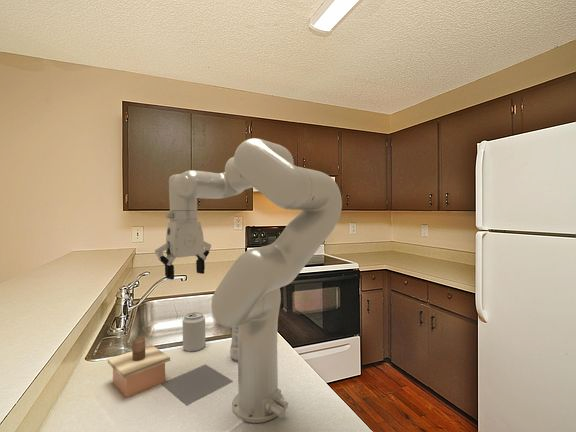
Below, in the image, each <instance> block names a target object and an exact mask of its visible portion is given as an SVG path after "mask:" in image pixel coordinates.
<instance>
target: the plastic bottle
mask: <svg viewBox="0 0 576 432" xmlns="http://www.w3.org/2000/svg"><path fill="white" fill-rule="evenodd" d="M238 331H239V326H238V327H233V328H231V343H230V347H229V349H230V350H229V353H230V358H231V359H232V360H233V361H235V362H238Z"/></svg>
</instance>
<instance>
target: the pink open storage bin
mask: <svg viewBox="0 0 576 432" xmlns="http://www.w3.org/2000/svg"><path fill="white" fill-rule="evenodd" d="M164 382H166V363H163V364H161V365H158V366H156V367H153V368H150V369H148V370H145V371H142V372H140V373H137V374H135V375H132V376H129V377H127V378H124V379H123V378H122V377H121V376H120V375H119V374H118V373H117V372H116V371H115V370H114V369H113V368H112V383H113V384H114V385H115V386H116V388H117V389H119V391H121V392H120V393H122V394H123V395H124V396H125V397H126V398H128V397H131V396H133V395H135V394H138V393H140V392H143V391H145V390H147V389H151V388H152V387H154V386H156V385H159V384H161V383H164Z"/></svg>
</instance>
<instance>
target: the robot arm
mask: <svg viewBox="0 0 576 432" xmlns="http://www.w3.org/2000/svg"><path fill="white" fill-rule="evenodd" d="M252 188H254V189H256V191H258V192H259V193H260V194H262V195H263V196H264V197H265V198H266V199H268V200H269V201H270V202H271V203H272V204H274V205H275V206H277V207H279V208H281V209H284V210H290V211H300V213H298V214H297V216H295V217H294V218H293V219H292V220H290V222H289V223H288V224H286V226H285V228H284V229H283V231H282V232H281V233H280V234H279V236H278V237H277V238H276V239H275V241H274V242H272V243H270V244H267V245H262V246H260V247H254V248H253V247H252V248H251V249H248V250H246V251H245V252H243V253H241V255H239V256H238V258H237V259H236V260H235V261H234V263H233V264H232V265H231V266H230V268H229V270H228V271H227V273H226V274H225V275H224V277H223V278H222V280H221V282H220V283H219V284H218V286H217V288H216V289H215V290H214V293H213V296H212V299H211V313H212V316H213V318H214V319H215V322H217V324H219V325H220V326H222V327H225V328H231V329H232V328H233V327H238V326H239V331H238V361H237V369H238V370H237V371H238V372H237V373H238V375H237V376H238V377H237V378H238V384H237V385H238V393H237V394H236V395H235V396H234V397H233V399H232V401H231V402H232V403H231V410H232V412H233V414H234V415H235V416H236V417H237V418H238V419H240V420H241V421H243V422H246V423H252V424H258V423H264V422H268V421H271V420H273V419H275V418H276V417H278V418H279V419H283V417H284V416H285V415H286V409H287V408H288V406H289V403H288V402H287V401H286V400H285V397H284V396H283V394H282V390H281V389H279V388H278V387H279V383H278V381H279V380H278V379H279V377H278V375H279V374H278V370H279V369H278V324H279V323H278V322H279V321H278V320H279V314H280V308H281V301H282V300H281V299H282V297H281V296H282V295H281V290H280V289H281V288H283V287H286V286H288V285H289V284H291V283H293V281H294V280H295V279H296V278H297V276H298V275H299V274H300V273H301V271H302V270H303V269H304V268H305V266H306V265H307V264H308V263H309V261H310V260H311V259H312V258H313V256H314V255H315V254H316V252H317V251H319V249H320V248H321V246H322V245H323V244H324V243H325V241H326V240H327V239H328V238H329V237H330V235H331V233H333V232H334V229H335V228H336V226H337V224H338V222H339V219H340V217H341V214H342V209H343V201H342V194H341V190H340V188H339V185H338V184H337V183H336V181H335V180H334V178H333V177H331V176H330V175H328V174H327V173H325V172H323V171H320V170H316V169H312V168H305V167H302V166H296V165H295V163H294V157H293V155H292V153H291V152H290V150H288V149H287V147H285V146H284V145H283V146H282V145H281V144H278V143H274V142H272V141H268V140H264V139H262V138H258V137H257V138H255V137H253V138H247V139H245V140H244V141H242V143H240V144H239V145H238V146H237V148H236V150H235V153H234V155H233V157H232V156H231V157H230V158H229V159H228V160H227V161H226V163H225V166H224V172H219V173H217V172H211V171H204V170H203V171H202V170H193V169H191V170H190V169H189V170H186V171H184V172H181V173H177V174H172V175H171V176H169V179H168V193H169V195H168V197H169V210H168V211H169V213H166V214H165V218H166V219H169V221H170V222H168V223H167V228H166V236H165V243H164V244H163V245H160V246H159V247H158V248H157V249H155V250H154V253H155V254H156V257H157V259H158V260H159V261H160V262H161V263H162V264H163V265H164V273H165V274H164V276H165V277H166V279H167V280H174V279H175V265H173V263H174V262H175V260H176V258H186V257H194V256H195V257H196V258H197V259H196V262H195V266H196V273H197V274H202V275H203V274H205V269H206V266H205V265H206V264H205V261H206V260H207V256H209V254H210V251H211V248H212V244H210V243H208V242H207V241H205V240H204V233H203V228H202V223H201V221H198V201H197V199H208V200H209V199H211V200H212V199H214V200H216V199H217V200H218V199H219V200H221V199H225V198H230V197H233V196H234V197H235V196H237V195H240V194H242V193H243V192H244V191H245V190H249V189H252ZM163 252H165V254H166V256H165V255H164V253H163Z"/></svg>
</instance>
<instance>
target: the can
mask: <svg viewBox="0 0 576 432" xmlns="http://www.w3.org/2000/svg"><path fill="white" fill-rule="evenodd" d="M183 316H184V318H182V348H183V351H186V352H198V351H200V350H202V349H204V348H205V347H206V317H205V316H204V313H203V312H202V311H193V312H192V311H191V312H188V313H186V314H184V315H183Z"/></svg>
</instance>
